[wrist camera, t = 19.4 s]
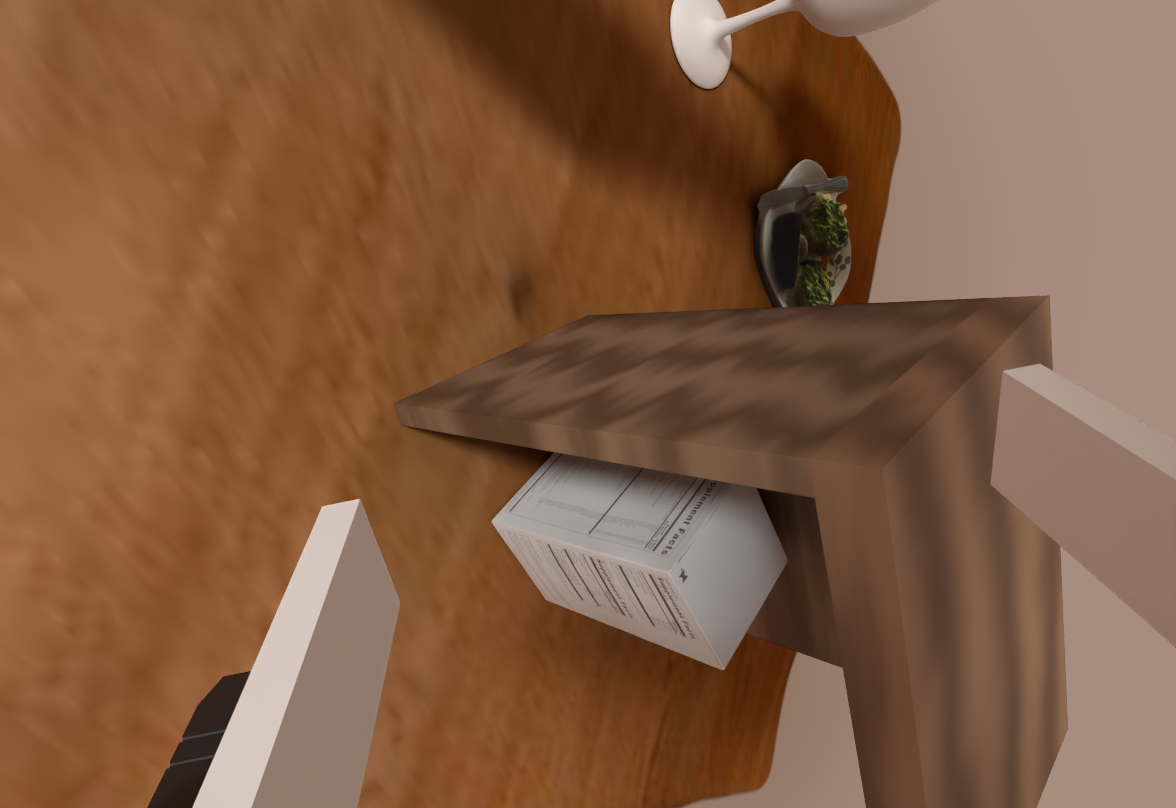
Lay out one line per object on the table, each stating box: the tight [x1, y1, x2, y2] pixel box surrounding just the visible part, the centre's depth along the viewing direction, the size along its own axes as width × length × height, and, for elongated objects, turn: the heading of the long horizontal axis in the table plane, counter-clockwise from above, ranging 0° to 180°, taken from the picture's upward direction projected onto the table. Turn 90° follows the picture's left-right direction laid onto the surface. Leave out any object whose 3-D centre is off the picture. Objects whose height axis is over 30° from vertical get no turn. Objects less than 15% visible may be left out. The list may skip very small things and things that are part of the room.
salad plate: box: [754, 159, 851, 307], centre depth 75 cm, size 19×18×5 cm
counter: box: [394, 296, 1068, 808], centre depth 42 cm, size 18×26×32 cm
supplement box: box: [492, 452, 788, 670], centre depth 48 cm, size 10×9×17 cm
